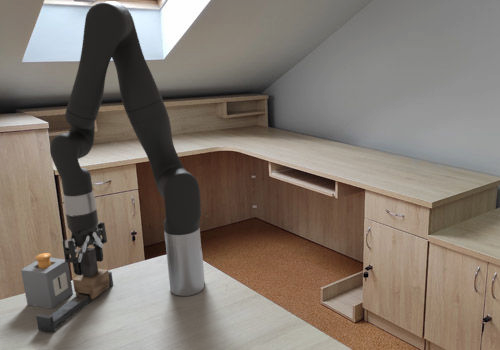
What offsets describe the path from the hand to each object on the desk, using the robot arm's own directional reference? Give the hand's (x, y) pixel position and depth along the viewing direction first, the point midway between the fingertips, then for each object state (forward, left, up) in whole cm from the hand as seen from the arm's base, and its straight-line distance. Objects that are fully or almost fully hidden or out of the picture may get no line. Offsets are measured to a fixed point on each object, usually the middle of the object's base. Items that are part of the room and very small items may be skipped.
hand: (89, 267), depth 126 cm
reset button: (+5, -10, -1) cm, 11 cm away
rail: (+6, 0, -8) cm, 10 cm away
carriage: (0, 0, -8) cm, 8 cm away
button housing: (+5, -10, -8) cm, 14 cm away
